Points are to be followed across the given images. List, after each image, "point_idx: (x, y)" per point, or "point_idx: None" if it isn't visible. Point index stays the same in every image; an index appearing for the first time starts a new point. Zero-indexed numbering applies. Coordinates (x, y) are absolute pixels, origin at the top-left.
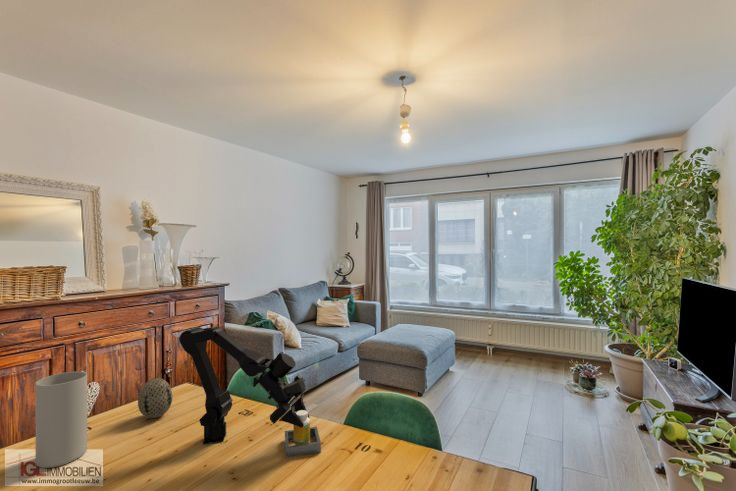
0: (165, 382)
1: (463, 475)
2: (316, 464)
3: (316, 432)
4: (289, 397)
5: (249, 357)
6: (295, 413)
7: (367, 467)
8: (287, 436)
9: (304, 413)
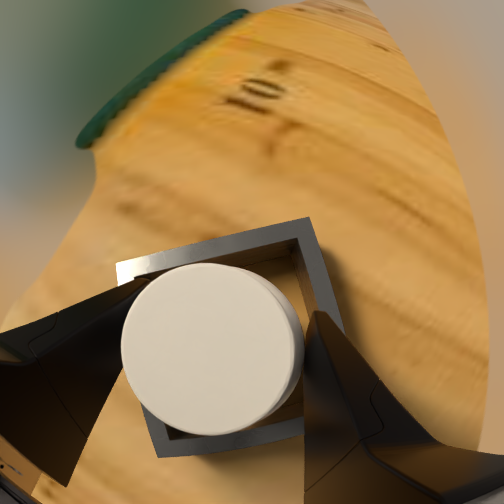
0: None
1: (349, 4)
2: (391, 245)
3: (184, 256)
4: None
5: None
6: (370, 424)
7: (371, 95)
8: (225, 437)
9: (227, 305)
